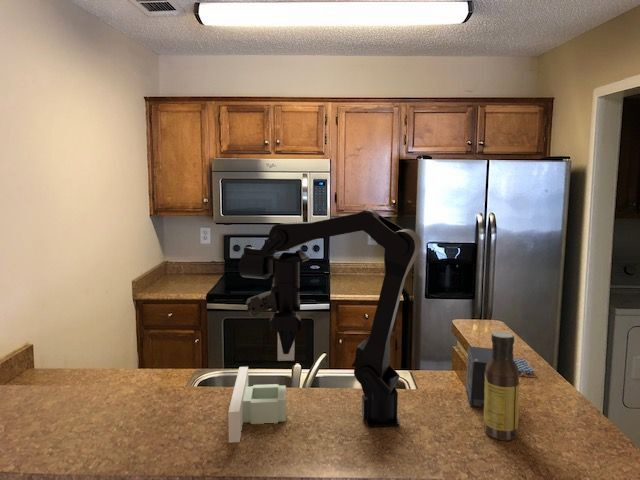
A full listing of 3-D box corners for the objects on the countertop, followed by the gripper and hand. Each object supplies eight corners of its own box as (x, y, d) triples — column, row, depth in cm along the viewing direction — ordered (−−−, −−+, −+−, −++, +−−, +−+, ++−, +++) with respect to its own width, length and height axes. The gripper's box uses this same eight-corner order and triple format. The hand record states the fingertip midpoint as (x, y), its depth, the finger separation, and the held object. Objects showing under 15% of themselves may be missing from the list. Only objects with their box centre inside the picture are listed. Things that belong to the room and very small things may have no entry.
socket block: (285, 403, 103) (285, 384, 103) (285, 423, 94) (285, 401, 94) (246, 404, 102) (246, 385, 102) (242, 424, 94) (242, 402, 93)
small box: (501, 411, 100) (503, 363, 99) (469, 408, 102) (471, 361, 101) (493, 390, 111) (495, 347, 110) (464, 388, 112) (466, 345, 111)
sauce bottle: (499, 422, 95) (503, 327, 93) (524, 437, 90) (530, 336, 88) (475, 429, 92) (479, 331, 90) (500, 445, 87) (505, 340, 85)
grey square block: (294, 354, 105) (294, 324, 104) (294, 360, 101) (294, 328, 101) (278, 354, 105) (278, 324, 104) (277, 360, 101) (277, 329, 101)
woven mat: (493, 376, 120) (494, 369, 120) (485, 362, 130) (485, 355, 130) (536, 379, 118) (537, 371, 118) (525, 364, 129) (525, 357, 128)
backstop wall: (248, 391, 109) (248, 366, 108) (239, 442, 87) (239, 411, 87) (239, 391, 109) (239, 366, 108) (228, 442, 87) (228, 411, 86)
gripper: (252, 273, 110) (253, 337, 112) (243, 290, 92) (244, 367, 93) (300, 273, 111) (299, 337, 112) (300, 290, 92) (300, 366, 94)
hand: (286, 350), depth 103 cm, fingers closed on grey square block, 4 cm apart
